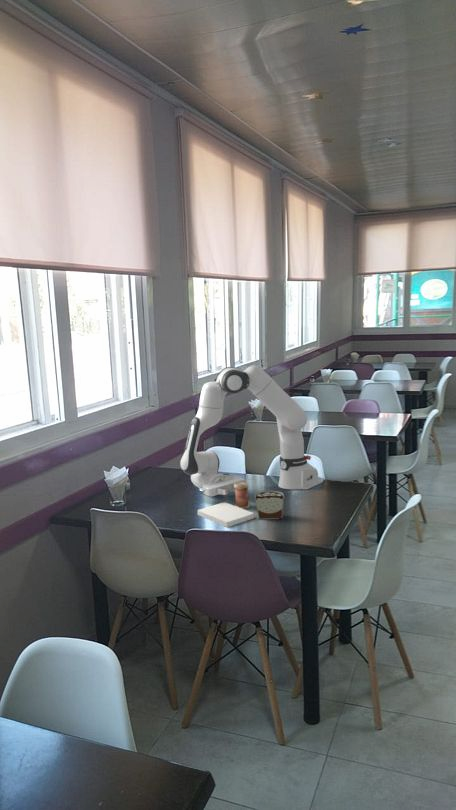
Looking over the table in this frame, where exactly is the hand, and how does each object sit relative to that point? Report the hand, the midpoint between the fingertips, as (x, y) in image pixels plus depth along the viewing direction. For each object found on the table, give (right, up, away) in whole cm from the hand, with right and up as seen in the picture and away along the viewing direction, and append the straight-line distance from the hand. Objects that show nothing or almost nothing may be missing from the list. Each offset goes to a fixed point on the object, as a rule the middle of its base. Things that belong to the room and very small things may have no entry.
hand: (235, 490), depth 245 cm
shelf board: (-4, -9, -13) cm, 16 cm away
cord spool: (+3, -7, -3) cm, 8 cm away
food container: (+14, -8, -15) cm, 23 cm away
